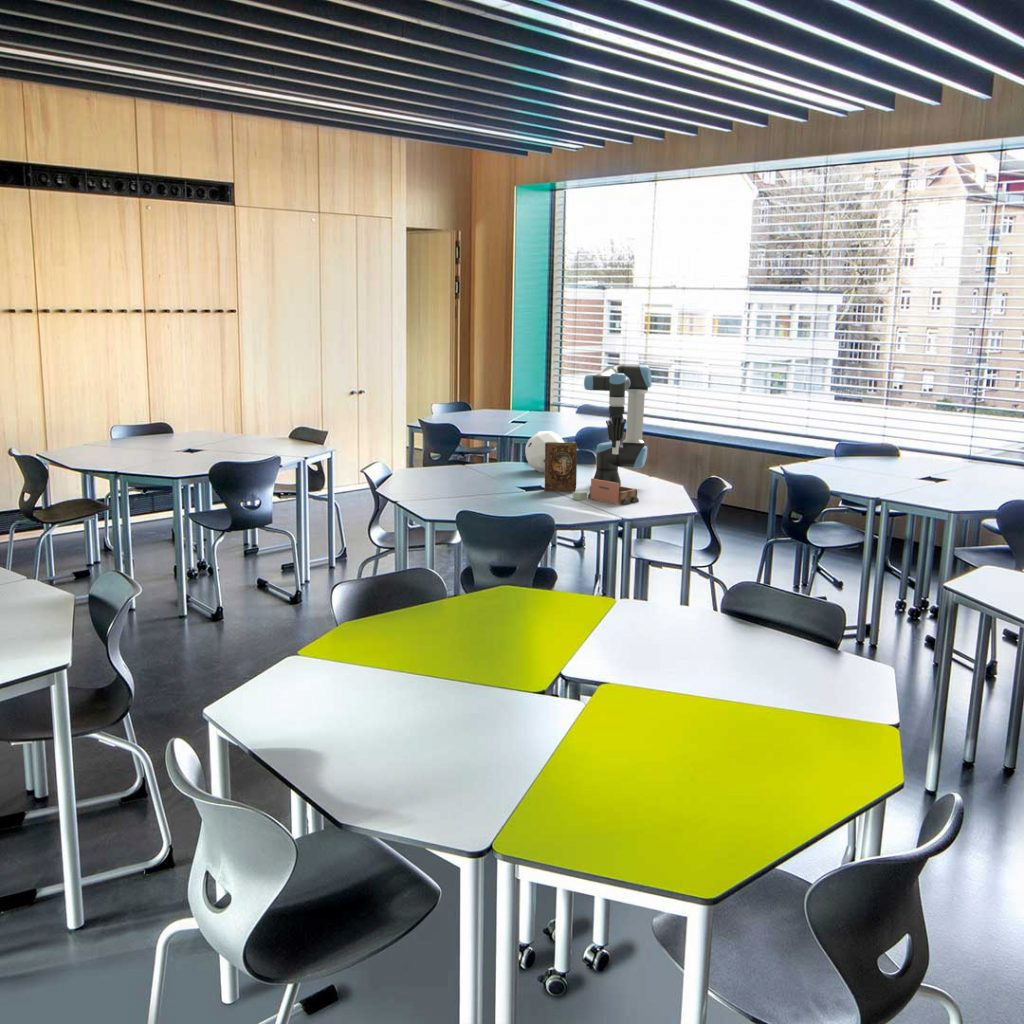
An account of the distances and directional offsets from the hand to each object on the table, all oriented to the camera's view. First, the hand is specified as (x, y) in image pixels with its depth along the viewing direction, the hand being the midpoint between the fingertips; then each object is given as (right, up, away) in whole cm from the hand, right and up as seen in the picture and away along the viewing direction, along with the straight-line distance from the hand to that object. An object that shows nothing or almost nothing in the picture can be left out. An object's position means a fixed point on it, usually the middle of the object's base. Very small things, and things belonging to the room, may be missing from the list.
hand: (615, 453), depth 481 cm
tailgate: (-5, -23, 0) cm, 24 cm away
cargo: (-17, -23, +7) cm, 30 cm away
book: (-25, -18, +34) cm, 46 cm away
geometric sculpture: (-31, -5, +90) cm, 95 cm away
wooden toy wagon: (-1, -24, +5) cm, 24 cm away
